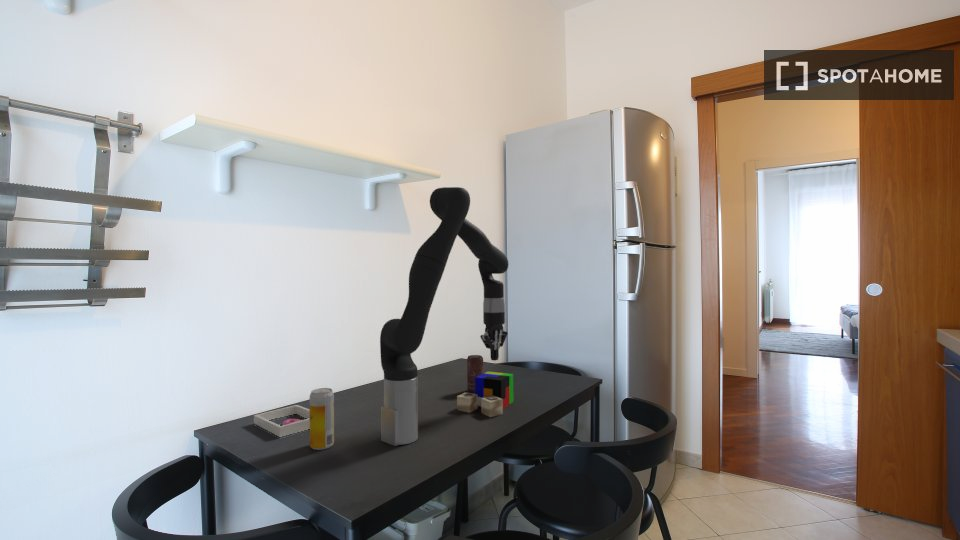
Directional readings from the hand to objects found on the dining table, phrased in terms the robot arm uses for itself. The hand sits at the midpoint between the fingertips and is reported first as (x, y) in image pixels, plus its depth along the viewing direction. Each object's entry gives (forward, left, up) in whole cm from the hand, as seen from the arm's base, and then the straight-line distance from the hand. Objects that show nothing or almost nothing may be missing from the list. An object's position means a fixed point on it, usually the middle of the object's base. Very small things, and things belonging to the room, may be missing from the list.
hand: (494, 359), depth 155 cm
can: (+7, +15, -16) cm, 23 cm away
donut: (-57, +31, -16) cm, 67 cm away
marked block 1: (-11, +3, -16) cm, 19 cm away
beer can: (-59, +12, -16) cm, 62 cm away
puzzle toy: (0, 0, -16) cm, 16 cm away
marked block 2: (-9, -6, -16) cm, 19 cm away
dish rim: (-57, +34, -15) cm, 68 cm away
